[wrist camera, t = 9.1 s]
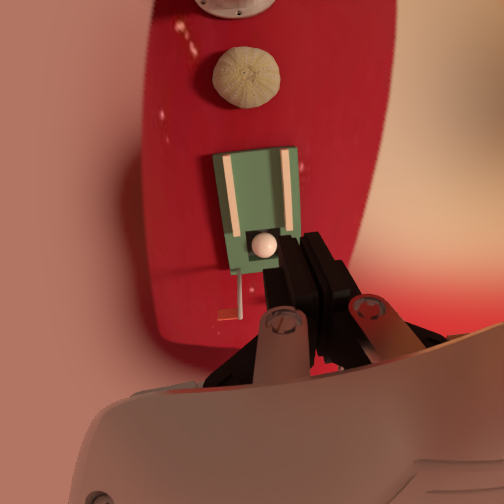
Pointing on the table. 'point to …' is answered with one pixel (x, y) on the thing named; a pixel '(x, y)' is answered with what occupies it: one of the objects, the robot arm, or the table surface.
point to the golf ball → (264, 245)
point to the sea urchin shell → (246, 77)
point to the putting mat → (256, 206)
